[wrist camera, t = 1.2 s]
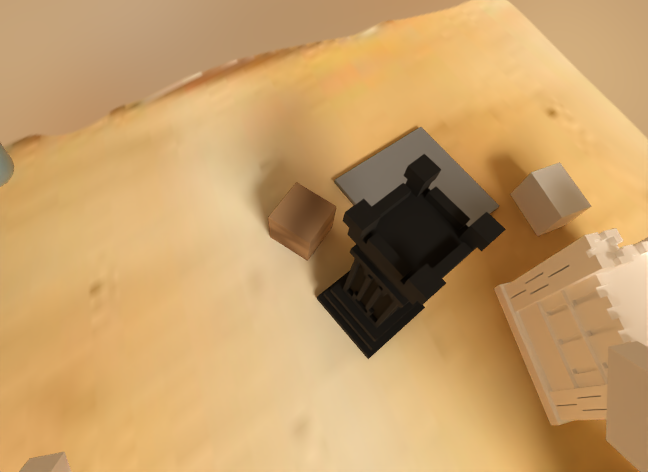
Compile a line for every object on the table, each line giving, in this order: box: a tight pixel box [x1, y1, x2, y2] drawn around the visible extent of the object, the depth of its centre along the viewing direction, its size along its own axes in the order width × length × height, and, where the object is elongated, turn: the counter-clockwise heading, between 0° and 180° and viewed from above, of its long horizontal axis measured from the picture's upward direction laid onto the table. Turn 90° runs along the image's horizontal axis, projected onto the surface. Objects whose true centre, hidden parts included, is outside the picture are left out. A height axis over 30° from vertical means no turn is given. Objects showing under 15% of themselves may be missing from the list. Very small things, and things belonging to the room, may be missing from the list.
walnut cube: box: [268, 182, 336, 261], centre depth 45 cm, size 5×5×5 cm
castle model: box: [494, 228, 648, 425], centre depth 38 cm, size 14×14×15 cm
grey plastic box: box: [510, 163, 591, 236], centre depth 49 cm, size 6×4×5 cm, turn 22°
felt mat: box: [335, 127, 499, 227], centre depth 50 cm, size 14×14×1 cm
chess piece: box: [317, 154, 506, 359], centre depth 35 cm, size 8×8×20 cm
